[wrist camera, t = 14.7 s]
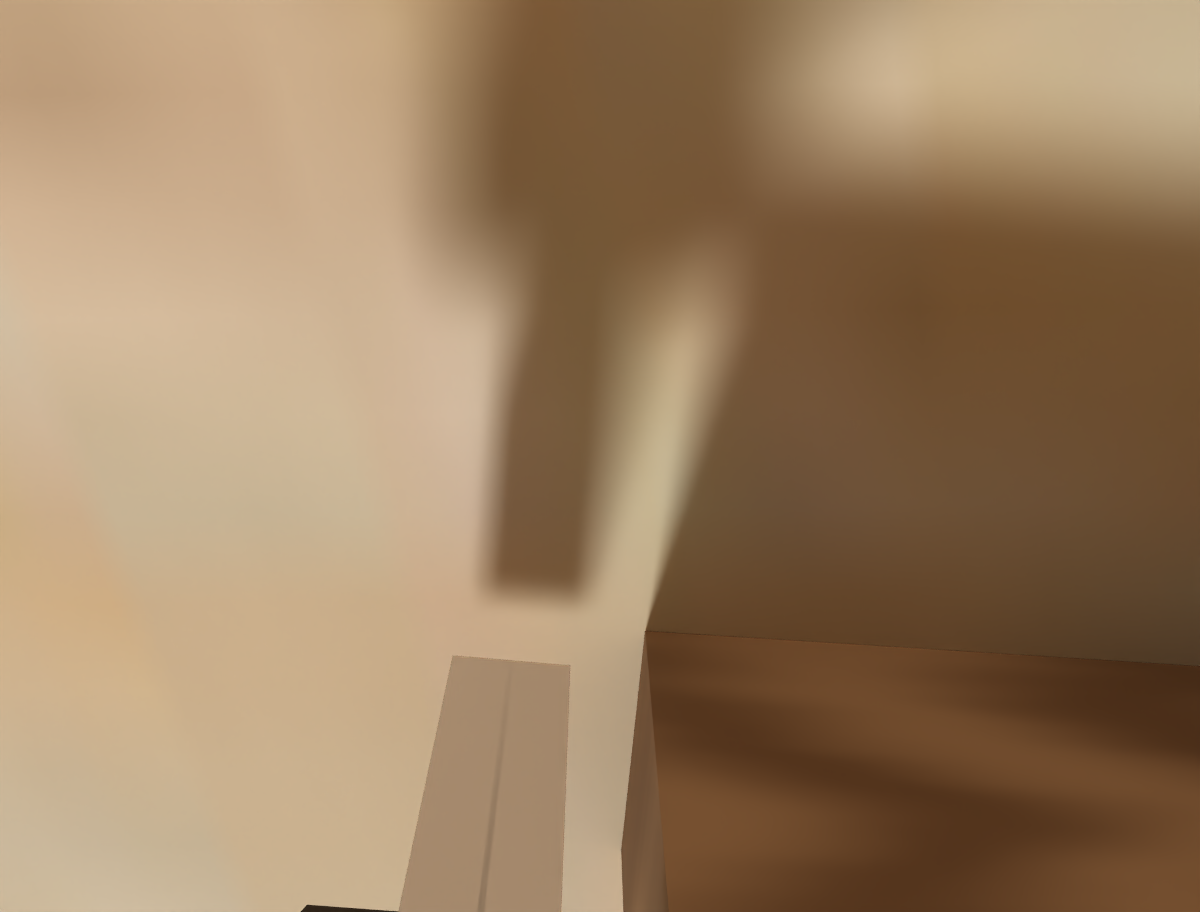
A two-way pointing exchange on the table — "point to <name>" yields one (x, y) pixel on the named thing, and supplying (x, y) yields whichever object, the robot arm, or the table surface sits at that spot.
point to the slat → (908, 780)
